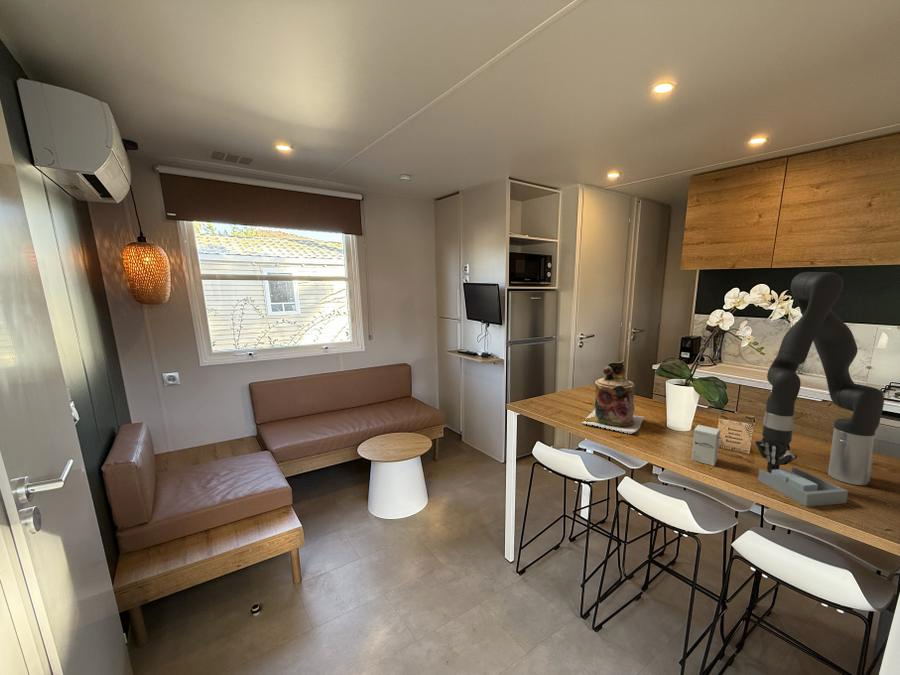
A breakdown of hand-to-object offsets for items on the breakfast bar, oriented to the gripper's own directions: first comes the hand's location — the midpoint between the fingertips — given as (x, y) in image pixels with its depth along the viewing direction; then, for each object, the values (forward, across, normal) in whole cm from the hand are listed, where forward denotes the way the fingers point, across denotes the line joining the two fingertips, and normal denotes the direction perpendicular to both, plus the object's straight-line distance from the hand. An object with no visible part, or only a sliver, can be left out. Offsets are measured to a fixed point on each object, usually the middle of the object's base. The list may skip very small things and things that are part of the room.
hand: (772, 473), depth 125 cm
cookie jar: (+2, +56, +26) cm, 62 cm away
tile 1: (+2, -5, 0) cm, 5 cm away
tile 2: (+2, -10, 0) cm, 10 cm away
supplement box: (+2, +14, +13) cm, 20 cm away
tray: (+2, -8, 0) cm, 9 cm away
